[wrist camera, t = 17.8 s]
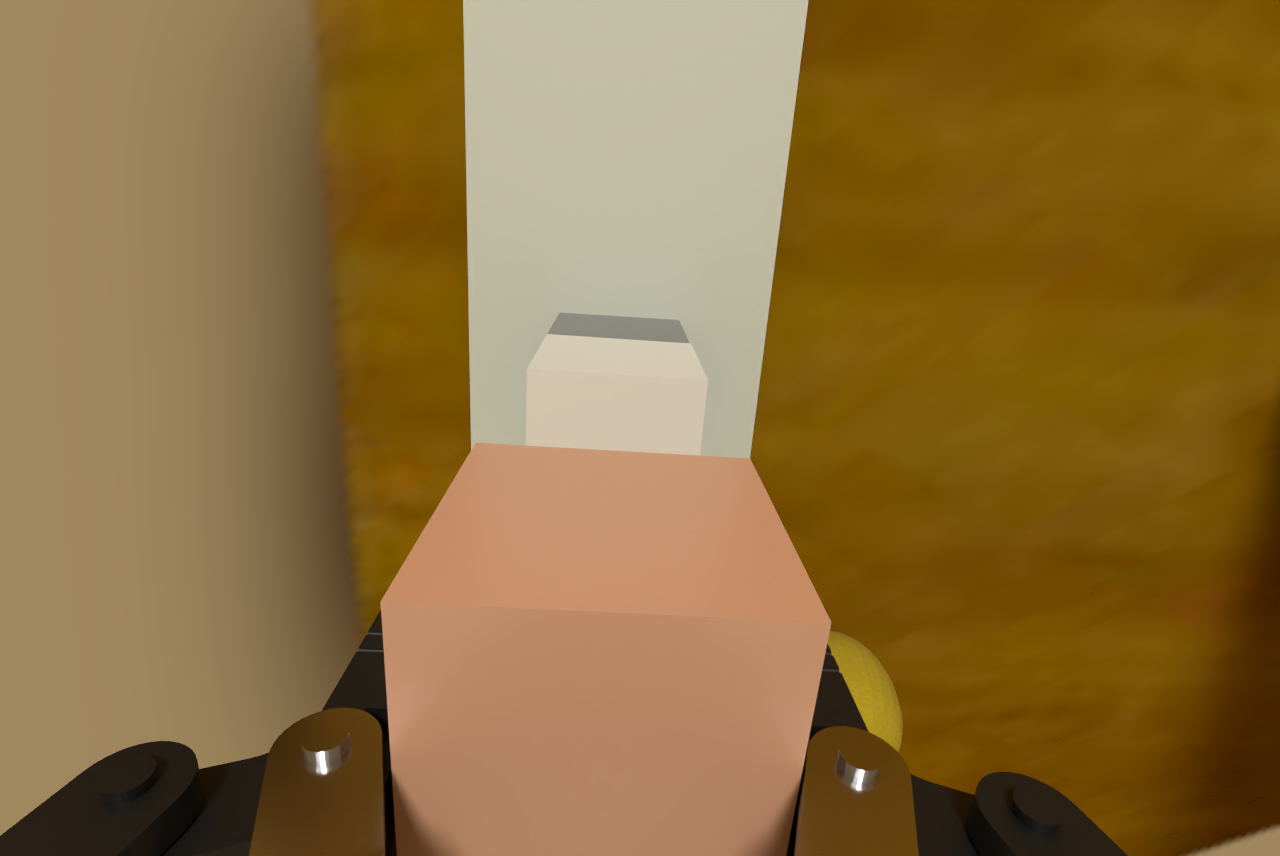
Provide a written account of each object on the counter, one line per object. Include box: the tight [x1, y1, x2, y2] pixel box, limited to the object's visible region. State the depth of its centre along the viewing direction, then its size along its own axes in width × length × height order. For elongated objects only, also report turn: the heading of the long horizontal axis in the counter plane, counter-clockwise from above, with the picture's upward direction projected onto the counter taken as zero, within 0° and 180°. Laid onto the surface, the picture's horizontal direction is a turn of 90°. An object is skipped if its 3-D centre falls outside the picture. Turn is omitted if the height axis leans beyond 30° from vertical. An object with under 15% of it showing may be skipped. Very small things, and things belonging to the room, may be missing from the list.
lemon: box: [827, 631, 903, 752], centre depth 30 cm, size 6×6×8 cm
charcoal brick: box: [547, 313, 689, 343], centre depth 25 cm, size 6×5×5 cm
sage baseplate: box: [463, 0, 808, 458], centre depth 26 cm, size 23×12×1 cm, turn 176°
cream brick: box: [526, 334, 708, 456], centre depth 21 cm, size 6×5×5 cm
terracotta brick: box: [381, 443, 831, 856], centre depth 10 cm, size 6×5×5 cm
